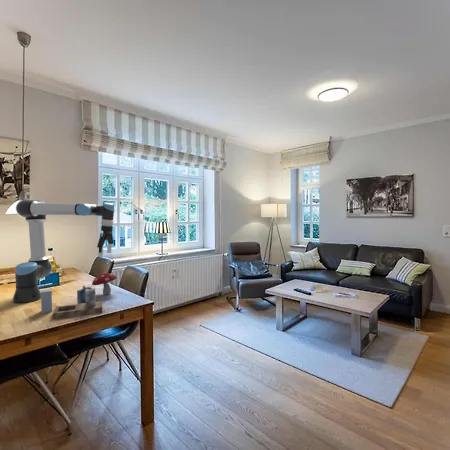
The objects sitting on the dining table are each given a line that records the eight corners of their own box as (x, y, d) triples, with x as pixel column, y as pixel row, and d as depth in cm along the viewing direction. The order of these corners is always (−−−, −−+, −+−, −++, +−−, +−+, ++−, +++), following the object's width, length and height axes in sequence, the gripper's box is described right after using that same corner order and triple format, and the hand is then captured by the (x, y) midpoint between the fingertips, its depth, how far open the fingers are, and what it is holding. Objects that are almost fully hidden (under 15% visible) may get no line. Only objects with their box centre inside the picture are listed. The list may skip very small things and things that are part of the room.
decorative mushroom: (97, 299, 183) (97, 276, 182) (88, 294, 194) (87, 272, 193) (121, 294, 194) (120, 272, 193) (111, 289, 205) (110, 269, 204)
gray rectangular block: (41, 313, 158) (41, 292, 157) (41, 310, 162) (40, 290, 161) (52, 311, 161) (51, 290, 160) (51, 309, 165) (51, 288, 164)
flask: (79, 305, 172) (78, 287, 171) (75, 304, 173) (75, 287, 173) (92, 301, 180) (92, 284, 179) (89, 300, 181) (89, 283, 181)
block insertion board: (53, 319, 150) (52, 296, 149) (56, 311, 161) (55, 290, 160) (102, 312, 159) (101, 291, 159) (102, 305, 170) (101, 286, 170)
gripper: (104, 228, 184) (101, 259, 187) (119, 224, 209) (117, 251, 212) (93, 226, 185) (90, 258, 187) (109, 222, 209) (107, 250, 212)
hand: (104, 254), depth 199 cm, fingers open, 13 cm apart
